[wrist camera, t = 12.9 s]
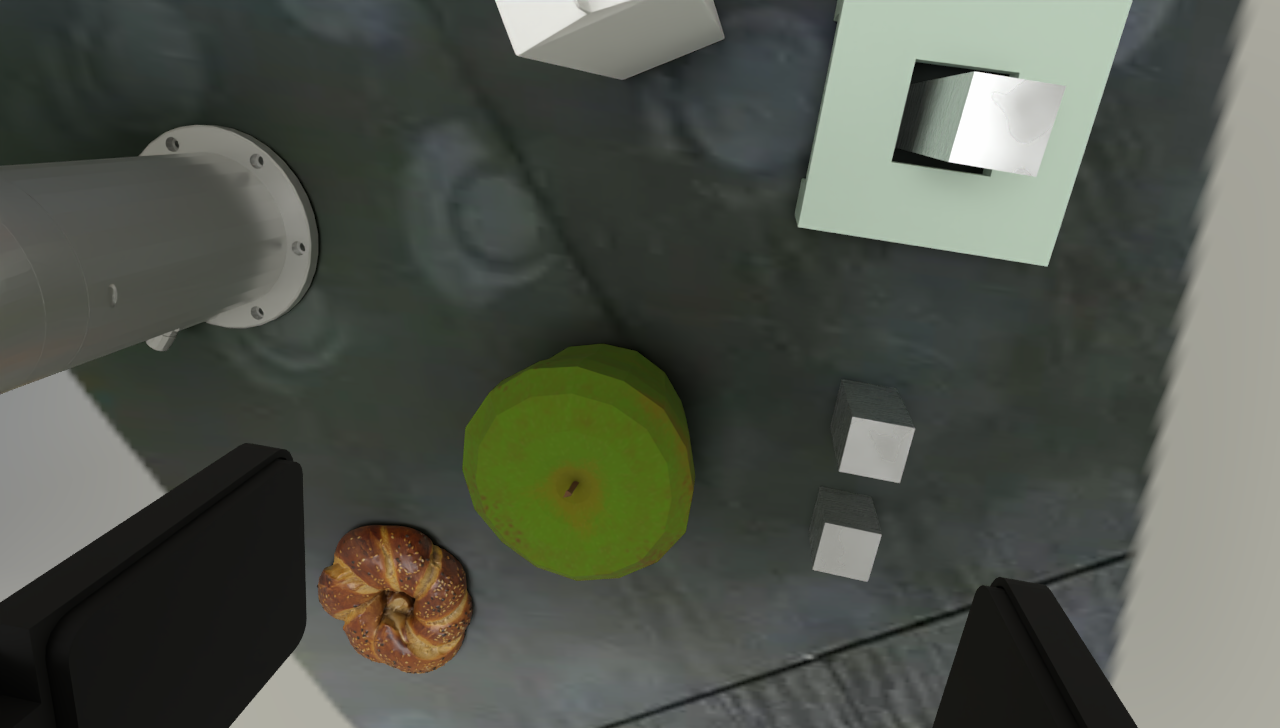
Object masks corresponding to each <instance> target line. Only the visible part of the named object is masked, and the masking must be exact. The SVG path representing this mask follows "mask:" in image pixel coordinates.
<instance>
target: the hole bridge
mask: <svg viewBox="0 0 1280 728" xmlns="http://www.w3.org/2000/svg"><path fill="white" fill-rule="evenodd" d="M1131 3H1132V0H837V5H836V10H835V15H834V20H833V21H838V22H837V27H836V32H835V37H834V42H833V47H832V52H831V57H830V62H829V67H828V72H827V76H826V81H825V86H824V91H823V96H822V101H821V106H820V111H819V116H818V121H817V126H816V131H815V136H814V141H813V146H812V151H811V156H810V160H809V165H808V170H807V175H806V179H804V178H802V180H801V185H800V190H799V195H798V200H797V205H796V210H795V218H796V222H797V225H798V227H800V228H807V229H813V230H819V231H826V232H832V233H839V234H845V235H851V236H858V237H864V238H870V239H877V240H883V241H889V242H896V243H902V244H908V245H915V246H921V247H927V248H934V249H940V250H946V251H953V252H959V253H965V254H972V255H978V256H985V257H991V258H997V259H1004V260H1010V261H1016V262H1023V263H1029V264H1035V265H1042V266H1048V264H1049V260H1050V257H1051V254H1052V251H1053V248H1054V245H1055V242H1056V239H1057V235H1058V232H1059V229H1060V226H1061V223H1062V220H1063V217H1064V213H1065V210H1066V207H1067V204H1068V201H1069V198H1070V195H1071V192H1072V188H1073V185H1074V182H1075V179H1076V176H1077V173H1078V170H1079V166H1080V163H1081V160H1082V157H1083V154H1084V151H1085V148H1086V145H1087V141H1088V138H1089V135H1090V132H1091V129H1092V126H1093V123H1094V119H1095V116H1096V113H1097V110H1098V107H1099V104H1100V101H1101V98H1102V94H1103V91H1104V88H1105V85H1106V82H1107V79H1108V76H1109V72H1110V69H1111V66H1112V63H1113V60H1114V57H1115V54H1116V50H1117V47H1118V44H1119V41H1120V38H1121V35H1122V32H1123V29H1124V25H1125V22H1126V19H1127V16H1128V13H1129V10H1130V7H1131ZM915 62H920V63H928V64H935V65H943V66H950V67H958V68H966V69H973V70H981V71H988V72H996V73H1003V74H1010V76H1009V77H1013V78H1019V79H1025V80H1032V81H1038V82H1044V83H1050V84H1057V85H1063V86H1066V88H1065V91H1064V94H1063V97H1062V100H1061V103H1060V106H1059V109H1058V112H1057V115H1056V118H1055V122H1054V125H1053V128H1052V131H1051V134H1050V137H1049V140H1048V143H1047V146H1046V149H1045V152H1044V155H1043V158H1042V161H1041V164H1040V167H1039V170H1038V173H1037V176H1036V177H1033V176H1027V175H1021V174H1016V173H1010V172H1004V171H998V170H992V169H986V168H984V169H983V173H982V174H977V173H970V172H963V171H956V170H950V169H943V168H936V167H929V166H922V165H915V164H909V163H902V162H895V161H892V157H893V153H894V149H895V145H896V141H897V136H898V132H899V128H900V124H901V120H902V115H903V111H904V107H905V103H906V98H907V94H908V90H909V86H910V82H911V77H912V73H913V69H914V65H915Z"/></svg>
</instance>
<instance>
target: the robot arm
mask: <svg viewBox="0 0 1280 728" xmlns="http://www.w3.org/2000/svg"><path fill="white" fill-rule="evenodd" d="M304 247H305V248H304ZM317 259H318V231H317V226H316V221H315V216H314V213H313V210H312V207H311V205H310V202H309V199H308V197H307V194H306V193H305V191H304V189H303V187H302V186H301V184H300V182H299V180H298V179H297V177H296V176H295V174H294V173H293V172H292V171H291V169H290V168H289V167H288V166H287V164H286V163H285V162H284V161H283V160H282V159H281V158H280V157H279V156H278V155H277V154H276V153H274V152H273V151H272V150H271V149H270V148H269V147H268V146H266V145H265V144H263V143H261V142H260V141H258V140H257V139H255V138H254V137H252V136H250V135H248V134H245V133H243V132H240V131H238V130H236V129H233V128H228V127H223V126H218V125H191V126H184V127H178V128H175V129H173V130H170V131H167V132H165V133H163V134H162V135H160V136H159V137H157V138H156V139H155V140H153V141H152V142H150V143H149V144H148V146H147V147H146V148H145V149H144V150H143V151H142V153H141V154H140V155H139V156H136V157H122V158H107V159H93V160H78V161H64V162H49V163H35V164H20V165H6V166H0V394H3V393H5V392H8V391H10V390H13V389H15V388H18V387H21V386H24V385H26V384H29V383H32V382H34V381H37V380H40V379H42V378H45V377H48V376H51V375H53V374H56V373H59V372H61V371H64V370H67V369H70V368H72V367H75V366H78V365H81V364H83V363H86V362H89V361H92V360H94V359H97V358H100V357H102V356H105V355H108V354H111V353H113V352H116V351H119V350H122V349H124V348H127V347H130V346H132V345H135V344H138V343H141V342H143V341H146V343H147V344H148V346H149V347H151V348H153V349H154V350H158V351H167V350H168V349H169V348H170V346H171V344H172V343H173V341H174V339H175V338H176V336H177V332H178V331H180V330H183V329H186V328H188V327H191V326H194V325H197V324H199V323H202V322H206V323H209V324H212V325H216V326H221V327H225V328H249V327H254V326H260V325H262V324H265V323H268V322H270V321H273V320H275V319H277V318H279V317H280V316H282V315H284V314H286V313H287V312H289V311H290V310H291V309H292V308H293V307H294V306H295V305H296V304H297V303H298V302H299V301H300V300H301V299H302V297H303V296H304V294H305V293H306V291H307V290H308V288H309V287H310V284H311V281H312V279H313V276H314V274H315V271H316V265H317ZM305 626H306V582H305V545H304V508H303V474H302V468H301V466H300V464H299V463H297V462H293V458H292V456H291V454H290V452H288V451H287V450H284V449H279V448H273V447H268V446H262V445H256V444H250V443H245V444H242V445H240V446H238V447H237V448H235V449H234V450H232V451H231V452H229V453H228V454H226V455H225V456H223V457H222V458H220V459H218V460H217V461H215V462H214V463H212V464H211V465H209V466H208V467H206V468H205V469H203V470H202V471H200V472H199V473H197V474H196V475H194V476H193V477H191V478H189V479H188V480H186V481H185V482H183V483H182V484H180V485H179V486H177V487H176V488H174V489H173V490H171V491H170V492H168V493H167V494H165V495H164V496H162V497H160V498H159V499H157V500H156V501H154V502H153V503H151V504H150V505H149V506H147V507H145V508H144V509H142V510H141V511H139V512H138V513H136V514H135V515H133V516H131V517H130V518H128V519H127V520H126V521H124V522H123V523H121V524H119V525H118V526H116V527H115V528H113V529H112V530H110V531H109V532H107V533H105V534H104V535H102V536H101V537H99V538H98V539H96V540H95V541H93V542H92V543H90V544H89V545H87V546H86V547H84V548H83V549H81V550H80V551H78V552H76V553H75V554H73V555H72V556H70V557H69V558H67V559H66V560H64V561H63V562H61V563H60V564H58V565H57V566H55V567H54V568H52V569H51V570H49V571H48V572H46V573H45V574H43V575H41V576H40V577H38V578H37V579H36V580H34V581H32V582H31V583H29V584H28V585H26V586H25V587H23V588H22V589H20V590H19V591H17V592H15V593H14V594H13V595H11V596H9V597H8V598H7V599H5V600H4V601H2V602H0V728H229V727H230V726H231V724H232V723H233V722H234V721H235V720H236V718H237V717H238V716H239V715H240V714H241V712H242V711H243V710H244V709H245V707H246V706H247V705H248V704H249V703H250V702H251V701H252V699H253V698H254V697H255V696H256V695H257V693H258V692H259V691H260V690H261V689H262V688H263V686H264V685H265V684H266V683H267V682H268V680H269V679H270V678H271V677H272V676H273V675H274V673H275V672H276V671H277V670H278V668H279V667H280V666H281V665H282V664H283V663H284V661H285V660H286V659H287V658H288V657H289V656H290V654H291V653H292V652H293V651H294V650H295V648H296V647H297V646H298V644H299V642H300V640H301V639H302V636H303V633H304V631H305ZM933 728H1138V727H1137V725H1136V724H1135V722H1134V721H1133V719H1132V718H1131V716H1130V714H1129V713H1128V711H1127V710H1126V708H1125V707H1124V705H1123V703H1122V702H1121V701H1120V699H1119V697H1118V696H1117V694H1116V692H1115V691H1114V689H1113V688H1112V686H1111V685H1110V683H1109V681H1108V680H1107V678H1106V677H1105V675H1104V674H1103V672H1102V670H1101V669H1100V667H1099V666H1098V664H1097V663H1096V661H1095V659H1094V658H1093V656H1092V655H1091V653H1090V652H1089V650H1088V648H1087V647H1086V645H1085V644H1084V642H1083V641H1082V639H1081V637H1080V636H1079V634H1078V633H1077V631H1076V630H1075V628H1074V626H1073V625H1072V623H1071V622H1070V620H1069V619H1068V617H1067V615H1066V614H1065V612H1064V611H1063V609H1062V608H1061V606H1060V604H1059V603H1058V601H1057V600H1056V598H1055V597H1054V595H1053V593H1052V592H1051V590H1050V589H1049V588H1048V587H1047V586H1045V585H1042V584H1036V583H1031V582H1025V581H1019V580H1014V579H1008V578H1003V577H998V578H996V579H995V580H994V581H993V583H992V584H991V586H984V585H982V586H980V587H979V588H978V589H977V591H976V593H975V596H974V599H973V602H972V605H971V608H970V611H969V615H968V618H967V621H966V624H965V627H964V630H963V633H962V637H961V640H960V643H959V646H958V649H957V652H956V655H955V658H954V662H953V665H952V668H951V671H950V674H949V677H948V680H947V684H946V687H945V690H944V693H943V696H942V699H941V702H940V706H939V709H938V712H937V715H936V718H935V721H934V724H933Z"/></svg>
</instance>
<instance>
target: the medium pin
mask: <svg viewBox="0 0 1280 728" xmlns="http://www.w3.org/2000/svg"><path fill="white" fill-rule="evenodd" d="M830 430H831V435H832V440H833V445H834V450H835V455H836V460H837V465H838V470H839V471H840V472H845V473H850V474H855V475H860V476H866V477H871V478H876V479H881V480H886V481H892V482H897V483H900V480H901V477H902V473H903V470H904V466H905V463H906V459H907V456H908V452H909V449H910V445H911V441H912V438H913V434H914V431H915V427H914V425H913V423H912V420H911V418H910V416H909V414H908V412H907V410H906V408H905V406H904V403H903V401H902V399H901V397H900V395H899V393H898V391H897V389H896V388H891V387H885V386H880V385H874V384H868V383H863V382H857V381H852V380H846V379H842V380H841V384H840V388H839V392H838V396H837V401H836V405H835V409H834V413H833V417H832V421H831V426H830Z"/></svg>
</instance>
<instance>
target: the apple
mask: <svg viewBox="0 0 1280 728" xmlns="http://www.w3.org/2000/svg"><path fill="white" fill-rule="evenodd" d="M462 470H463V473H464V476H465V480H466V483H467V486H468V489H469V493H470V496H471V499H472V502H473V505H474V509H475V510H476V511H477V513H478V514H479V515H480V516H481V517H482V519H483V520H484V521H485V522H486V523H487V525H488V526H489V527H490V528H491V529H492V531H493V532H494V533H495V534H496V535H497V537H498V538H499V539H500V540H501V541H502V542H503V543H504V544H506V545H507V546H508V547H510V548H511V549H512V550H514V551H515V552H517V553H518V554H519V555H521V556H522V557H523V558H525V559H526V560H528V561H529V562H530V563H532V564H533V565H534V566H536V567H538V568H541V569H544V570H547V571H550V572H553V573H556V574H559V575H562V576H564V577H567V578H570V579H573V580H576V581H581V580H596V579H610V578H620V577H623V576H625V575H627V574H630V573H632V572H635V571H637V570H639V569H642V568H644V567H646V566H649V565H651V564H654V563H656V562H658V561H659V560H660V559H661V558H662V557H663V555H664V554H665V553H666V552H667V551H668V550H669V549H670V548H671V547H672V546H673V545H674V544H675V543H676V542H677V541H678V540H679V539H680V538H681V536H682V535H683V534H684V533H685V532H686V527H687V522H688V517H689V511H690V506H691V501H692V495H693V490H694V482H695V470H694V463H693V457H692V450H691V443H690V436H689V431H688V426H687V421H686V416H685V413H684V409H683V406H682V402H681V400H680V398H679V397H678V395H677V393H676V391H675V390H674V388H673V386H672V384H671V383H670V381H669V379H668V377H667V376H666V374H665V372H663V371H662V370H661V369H659V368H658V367H657V366H656V365H654V364H653V363H652V362H650V361H649V360H648V359H646V358H645V357H644V356H642V355H641V354H640V353H638V352H637V351H634V350H629V349H625V348H620V347H616V346H611V345H607V344H603V343H602V344H592V345H582V346H572V347H568V348H566V349H564V350H563V351H561V352H559V353H558V354H556V355H554V356H553V357H551V358H549V359H547V360H542V361H539V362H537V363H535V364H533V365H531V366H529V367H527V368H525V369H523V370H522V371H520V372H518V373H516V374H514V375H512V376H510V377H508V378H506V379H504V380H502V381H501V382H500V383H499V384H498V385H497V386H496V387H495V388H494V389H493V390H491V391H490V392H489V394H488V395H487V397H486V398H485V400H484V401H483V403H482V404H481V406H480V407H479V409H478V410H477V412H476V413H475V415H474V416H473V417H472V419H471V420H470V422H469V423H468V425H467V426H466V428H465V440H464V454H463V467H462Z"/></svg>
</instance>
